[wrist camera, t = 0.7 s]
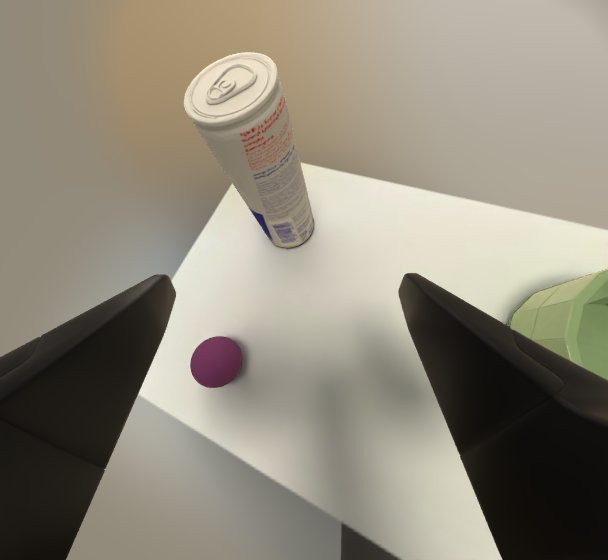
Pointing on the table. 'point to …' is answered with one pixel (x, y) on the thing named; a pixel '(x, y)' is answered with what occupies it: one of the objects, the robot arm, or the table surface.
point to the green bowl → (570, 321)
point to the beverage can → (254, 141)
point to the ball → (216, 362)
